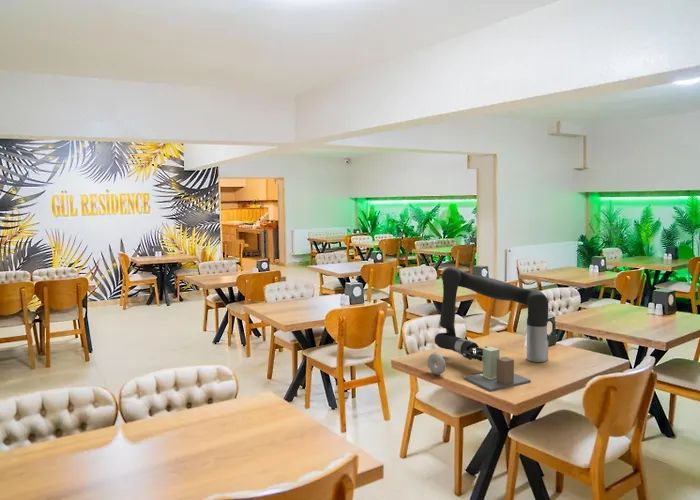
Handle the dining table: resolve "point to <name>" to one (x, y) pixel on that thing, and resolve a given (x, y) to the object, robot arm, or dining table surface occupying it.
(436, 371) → the donut
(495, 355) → the green pillar
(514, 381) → the build plate
